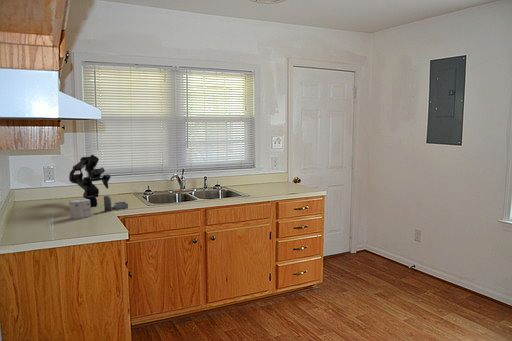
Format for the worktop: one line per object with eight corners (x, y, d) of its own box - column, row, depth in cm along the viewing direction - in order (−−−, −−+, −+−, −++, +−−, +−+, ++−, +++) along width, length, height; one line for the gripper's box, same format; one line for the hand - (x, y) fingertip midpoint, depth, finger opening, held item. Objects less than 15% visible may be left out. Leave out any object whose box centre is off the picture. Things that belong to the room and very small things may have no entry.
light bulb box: (86, 214, 259) (85, 198, 257) (91, 216, 255) (90, 199, 253) (69, 217, 251) (68, 200, 249) (75, 219, 246) (73, 202, 245)
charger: (104, 211, 265) (103, 196, 264) (104, 210, 269) (103, 195, 268) (111, 211, 267) (111, 195, 266) (111, 209, 271) (110, 194, 270)
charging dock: (115, 209, 272) (114, 204, 272) (113, 206, 280) (113, 202, 279) (128, 208, 276) (127, 203, 275) (126, 205, 283) (126, 201, 283)
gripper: (82, 165, 265) (92, 183, 260) (108, 162, 280) (118, 180, 274) (77, 176, 271) (86, 194, 266) (103, 172, 286) (112, 190, 280)
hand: (101, 189), depth 272 cm, fingers open, 9 cm apart
